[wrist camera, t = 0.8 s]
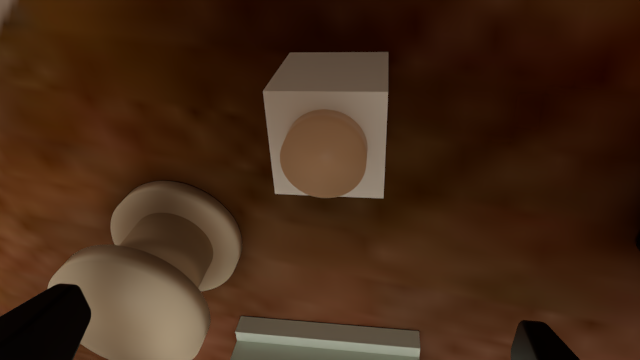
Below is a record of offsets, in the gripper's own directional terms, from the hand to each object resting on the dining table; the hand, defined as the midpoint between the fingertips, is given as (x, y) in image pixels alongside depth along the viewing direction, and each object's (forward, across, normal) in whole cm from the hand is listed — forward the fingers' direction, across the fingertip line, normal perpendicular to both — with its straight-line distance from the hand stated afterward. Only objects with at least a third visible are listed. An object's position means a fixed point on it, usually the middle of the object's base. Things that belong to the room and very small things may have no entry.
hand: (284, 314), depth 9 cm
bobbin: (+11, +9, +8) cm, 17 cm away
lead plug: (+12, 0, 0) cm, 12 cm away
